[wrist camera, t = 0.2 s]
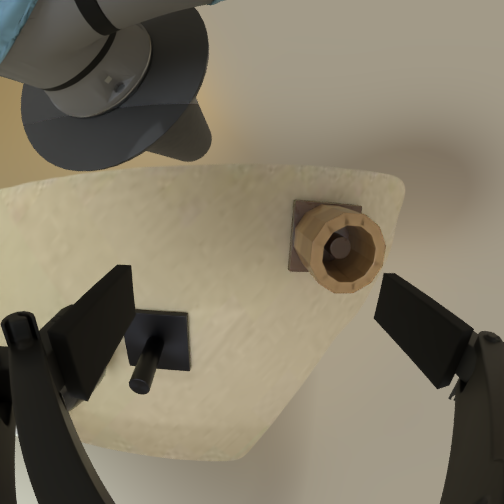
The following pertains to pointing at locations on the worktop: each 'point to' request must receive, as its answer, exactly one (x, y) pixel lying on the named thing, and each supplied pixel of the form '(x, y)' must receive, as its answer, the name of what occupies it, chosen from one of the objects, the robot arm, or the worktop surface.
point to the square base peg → (156, 346)
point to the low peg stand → (336, 243)
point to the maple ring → (355, 263)
